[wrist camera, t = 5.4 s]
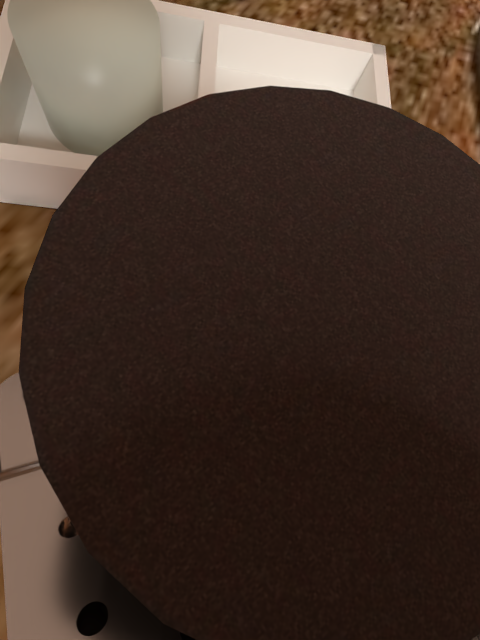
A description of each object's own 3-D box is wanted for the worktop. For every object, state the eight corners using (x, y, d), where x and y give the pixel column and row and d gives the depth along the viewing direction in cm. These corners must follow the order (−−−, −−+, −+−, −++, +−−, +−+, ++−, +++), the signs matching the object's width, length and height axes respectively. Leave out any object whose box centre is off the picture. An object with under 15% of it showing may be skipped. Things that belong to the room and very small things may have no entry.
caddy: (-4, 201, 19) (-79, 103, 14) (37, 39, 22) (-9, -94, 17) (367, 244, 22) (434, 179, 16) (357, 96, 25) (410, -1, 20)
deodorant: (171, 331, 19) (164, 16, 5) (283, 370, 19) (596, 191, 5) (123, 453, 17) (-137, 553, 3) (249, 494, 17) (598, 768, 3)
